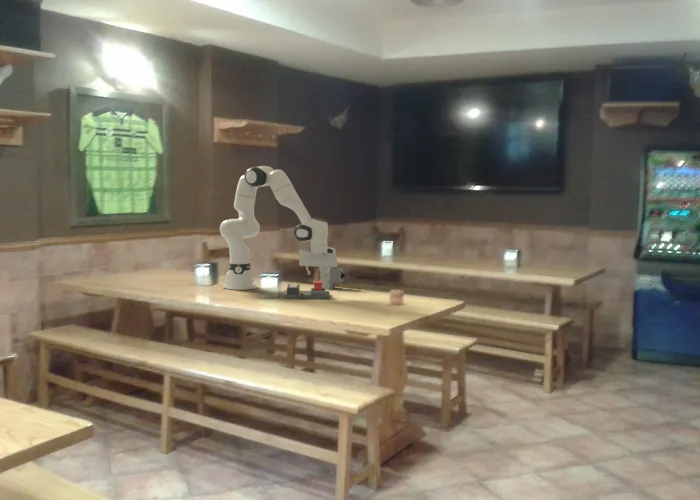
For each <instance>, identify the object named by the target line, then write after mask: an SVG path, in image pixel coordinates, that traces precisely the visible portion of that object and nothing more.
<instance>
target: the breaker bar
mask: <svg viewBox="0 0 700 500" xmlns="http://www.w3.org/2000/svg"><path fill="white" fill-rule="evenodd" d="M289 284H290V286H289V288H298V283H289Z"/></svg>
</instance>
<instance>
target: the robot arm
mask: <svg viewBox="0 0 700 500" xmlns="http://www.w3.org/2000/svg"><path fill="white" fill-rule="evenodd" d="M263 187H264V188H265V187H270V189H271V191H272V193H273V195H274V197H275V199H276V200H277V201H278V203H279V205H281V206H283V207H286V208H288V209H290V210H291V211H293V212H294V213H295V215H297V217H298V220H299V222H300V223H299V224H297V225H296V226H295V227H294V229H293V235H294V236H293V237H294V238H295V239H296V240H297V241H299V242H302V243H304V242H305V243H306V242H310V248H300V250H299V251H298V256H299V261H298V265H299V266H300V267H305V270H306V272H307V276H311V271H310V270H309V267H314V268H315V267H316V268H317V267H318V268H319V267H328V271H327V272H326V274H325V275H326V276H328V272H329V271H330V269H331V267H336V268H337V267H338V256H337V254H336V253H337V252H336V248H334V247H331V246H328V236H329V229H328V228H329V227H328V221H327V220H326V219H324V218H321V217H312V216H311V214H310V212H309V210H308V208H307V207H306V205H305V204H304V202H303V200H302V199H301V198H300V197H299V194H298V192H297V190H295V187H294V185H293V183H292V181H291V180H290V178H289V177H288V175H287V174H286V172H285V171H284V170H282V169H276V168H275V167H273V166H270V165H268V166H267V165H259V166H251V167H249V168H248V169H246V171H245V173H244V174H243V175H241V176H240V178H239V180H238V182H237V186H236V191H235V194H234V195H235V196H234V202H233V209H234V210H236V211H237V214H238V218H229V219H226V220H223V221H222V222H221V223H220V225H219V233H220V236H222V238H224V239H225V241H226V243H227V246H228V248H229V249H228V250H229V263H228V272H226V273H225V284H224V285H222V288H223V289H228V290H233V291H235V290H236V291H237V290H238V291H240V290H242V291H243V290H253V289H255V290H256V289H257V285H256V284H255V279H254V274H253V273H252V271H251V262H250V260H251V255H250V254H251V251H250V248H249V247H248V246H247V245H246V244H245V242H244V239H249V238H250V239H251V238H253V237H257V236H258V235H259V233H260V232H261V226H260V222H259V221H258V220H257V219H256V216H255V205H256V204H255V203H256V197H257V191H258V189H259V188H263Z"/></svg>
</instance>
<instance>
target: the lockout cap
mask: <svg viewBox="0 0 700 500" xmlns="http://www.w3.org/2000/svg"><path fill="white" fill-rule="evenodd" d="M322 284H323V281H319V280H313V282H312V285H313V288H314V290H322Z"/></svg>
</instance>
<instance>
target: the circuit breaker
mask: <svg viewBox="0 0 700 500" xmlns="http://www.w3.org/2000/svg"><path fill="white" fill-rule="evenodd" d="M318 271H319V272H320V273H319V274H320V275H319V280H318V281H323V284H322V288H325V290H334V289H336V284H341V283H343V281H344V277H346V274H345V273H344V268H339V267H338V268H337V267H331V269H330V271H329V272H328V276H326V275H325V274H326V272H327V271H328V267H318Z"/></svg>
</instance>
